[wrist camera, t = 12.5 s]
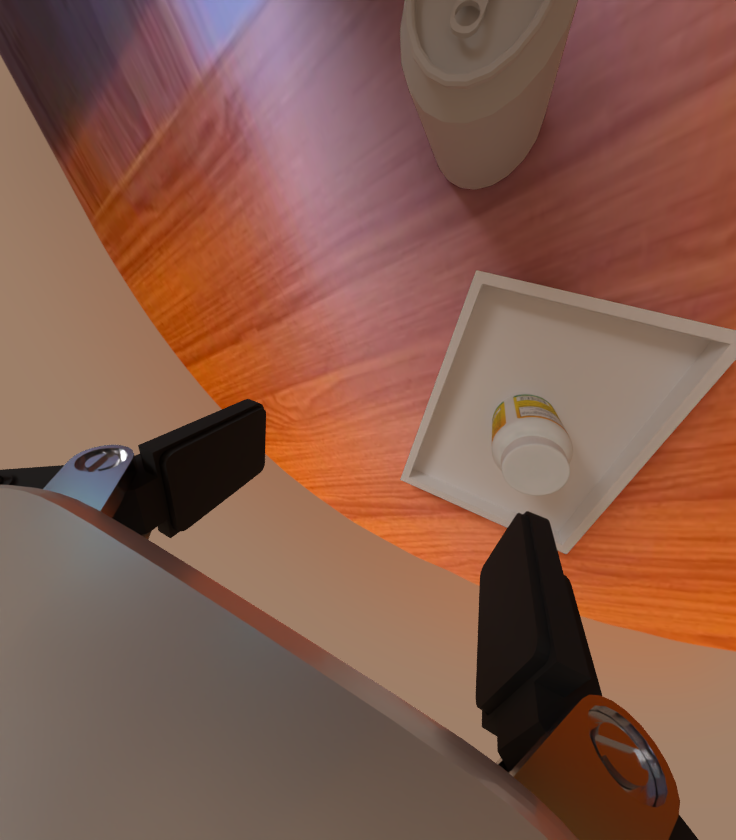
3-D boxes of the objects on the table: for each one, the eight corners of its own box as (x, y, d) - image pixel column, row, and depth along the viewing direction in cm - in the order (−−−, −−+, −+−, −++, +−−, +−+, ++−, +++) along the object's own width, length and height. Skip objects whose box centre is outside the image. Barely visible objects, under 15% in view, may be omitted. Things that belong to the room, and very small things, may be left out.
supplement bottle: (537, 381, 25) (560, 420, 17) (566, 430, 26) (602, 490, 17) (481, 408, 28) (476, 453, 20) (508, 452, 28) (515, 513, 20)
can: (570, 72, 18) (669, -217, 8) (505, 206, 22) (517, 123, 12) (464, 47, 20) (436, -227, 10) (420, 177, 23) (365, 80, 13)
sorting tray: (477, 272, 24) (476, 270, 22) (728, 331, 20) (756, 335, 18) (405, 468, 34) (400, 479, 32) (561, 536, 30) (566, 554, 28)
